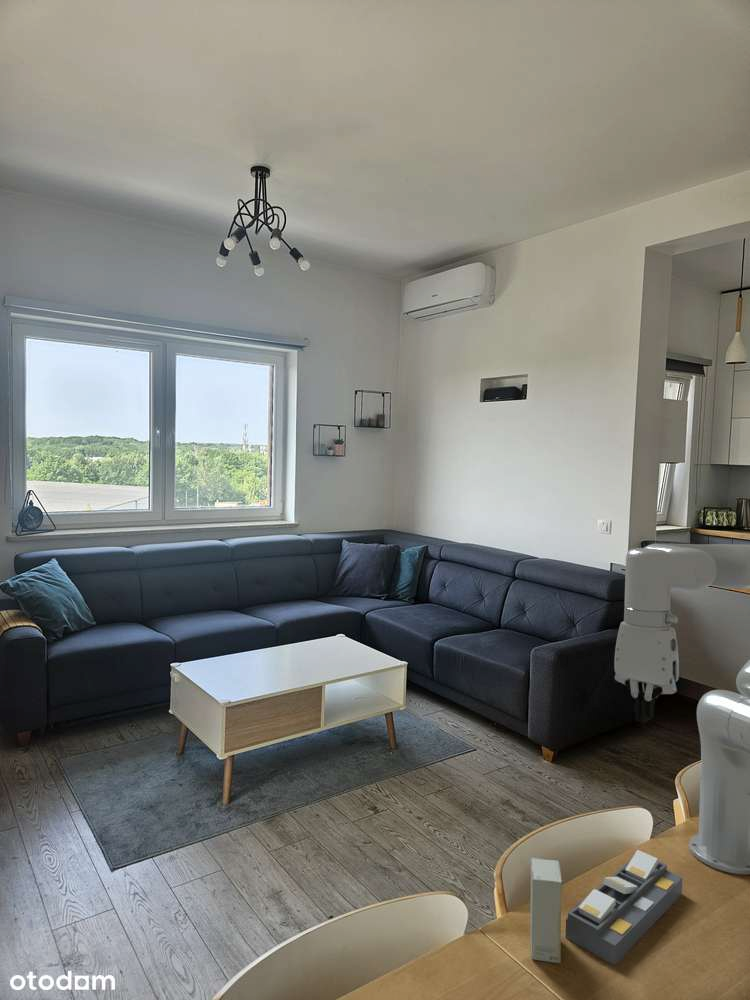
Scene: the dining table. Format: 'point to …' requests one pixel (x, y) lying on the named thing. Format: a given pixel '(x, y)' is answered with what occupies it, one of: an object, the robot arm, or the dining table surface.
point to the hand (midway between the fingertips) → (643, 719)
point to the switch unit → (625, 914)
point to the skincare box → (545, 910)
